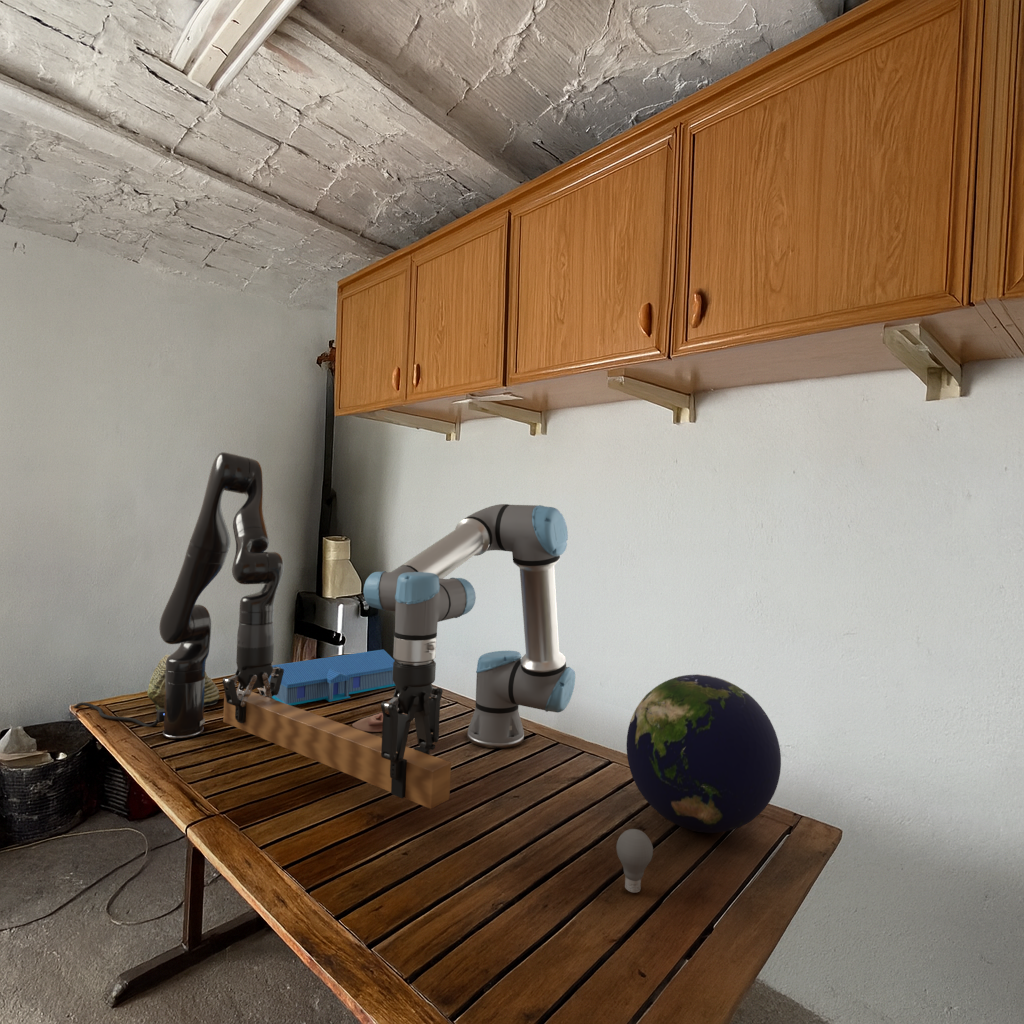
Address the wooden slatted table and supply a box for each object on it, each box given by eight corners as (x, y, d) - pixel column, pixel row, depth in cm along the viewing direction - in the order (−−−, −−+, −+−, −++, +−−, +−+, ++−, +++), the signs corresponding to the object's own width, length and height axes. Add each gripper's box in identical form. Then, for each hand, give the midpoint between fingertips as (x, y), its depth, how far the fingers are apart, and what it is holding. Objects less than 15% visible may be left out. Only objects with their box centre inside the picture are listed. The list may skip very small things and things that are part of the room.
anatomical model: (347, 714, 172) (365, 702, 183) (346, 729, 172) (365, 715, 183) (393, 720, 169) (409, 707, 181) (392, 735, 169) (408, 720, 181)
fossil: (144, 707, 182) (145, 655, 182) (212, 696, 194) (213, 647, 194) (151, 716, 175) (153, 662, 175) (221, 703, 188) (223, 653, 188)
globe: (608, 841, 121) (615, 684, 120) (638, 779, 148) (644, 652, 148) (777, 883, 110) (786, 711, 109) (776, 808, 137) (783, 670, 137)
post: (223, 722, 142) (224, 693, 142) (242, 716, 146) (243, 688, 146) (431, 809, 107) (432, 771, 107) (449, 798, 111) (451, 762, 111)
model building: (289, 709, 186) (291, 675, 185) (258, 688, 204) (259, 657, 204) (403, 687, 212) (405, 657, 212) (366, 670, 230) (368, 643, 230)
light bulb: (610, 879, 108) (613, 822, 108) (644, 879, 109) (647, 822, 109) (619, 902, 102) (622, 840, 102) (655, 901, 103) (658, 840, 103)
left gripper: (235, 650, 131) (232, 732, 132) (293, 640, 143) (290, 714, 144) (215, 644, 136) (212, 723, 136) (273, 634, 147) (270, 707, 148)
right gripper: (393, 674, 103) (387, 815, 103) (462, 654, 118) (457, 778, 118) (361, 665, 107) (356, 801, 108) (432, 648, 122) (427, 767, 122)
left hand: (252, 718), depth 140 cm, fingers closed on post, 5 cm apart
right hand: (409, 789), depth 113 cm, fingers closed on post, 5 cm apart
